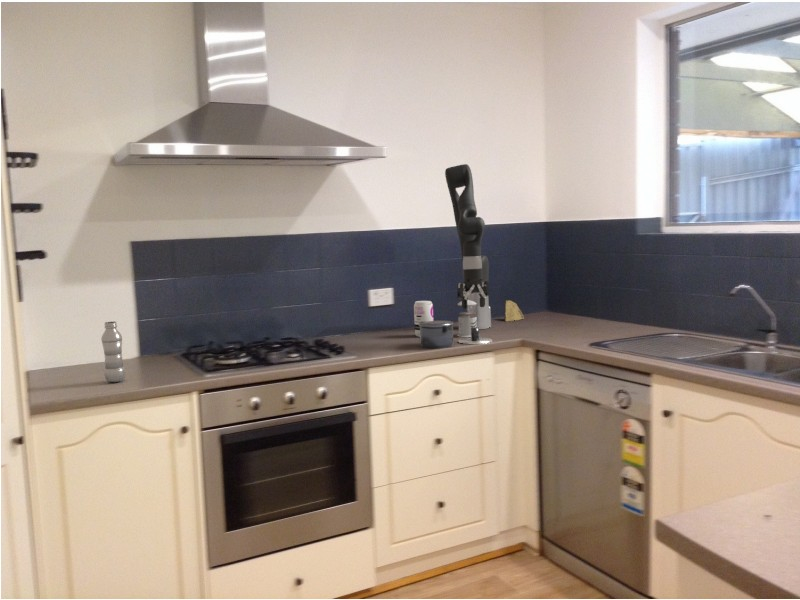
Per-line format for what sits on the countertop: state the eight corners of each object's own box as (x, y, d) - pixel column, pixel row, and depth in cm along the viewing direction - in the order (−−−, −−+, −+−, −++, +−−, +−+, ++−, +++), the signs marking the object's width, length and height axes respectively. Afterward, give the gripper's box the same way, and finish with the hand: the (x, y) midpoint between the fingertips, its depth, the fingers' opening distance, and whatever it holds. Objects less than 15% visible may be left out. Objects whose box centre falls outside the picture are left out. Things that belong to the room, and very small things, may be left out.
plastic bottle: (107, 385, 219) (102, 324, 217) (103, 381, 225) (97, 322, 223) (128, 381, 223) (123, 322, 221) (123, 378, 229) (118, 320, 227)
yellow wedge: (523, 313, 335) (503, 311, 336) (526, 301, 329) (505, 298, 330) (523, 328, 327) (503, 326, 328) (526, 316, 321) (505, 314, 322)
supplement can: (434, 334, 296) (433, 300, 295) (433, 337, 288) (432, 302, 286) (415, 334, 297) (414, 300, 295) (414, 337, 289) (413, 302, 287)
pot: (438, 340, 278) (437, 319, 277) (464, 346, 263) (463, 323, 262) (410, 344, 271) (409, 322, 270) (435, 350, 256) (434, 327, 255)
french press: (454, 337, 285) (452, 278, 282) (460, 333, 296) (458, 276, 293) (477, 337, 282) (475, 278, 279) (482, 333, 293) (480, 275, 290)
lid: (478, 338, 281) (477, 324, 280) (499, 342, 269) (498, 327, 269) (451, 342, 274) (451, 328, 273) (472, 346, 262) (471, 331, 262)
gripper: (480, 266, 276) (481, 305, 277) (452, 268, 268) (453, 308, 270) (492, 266, 269) (493, 307, 271) (463, 268, 262) (464, 310, 263)
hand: (473, 308), depth 270 cm, fingers open, 8 cm apart
